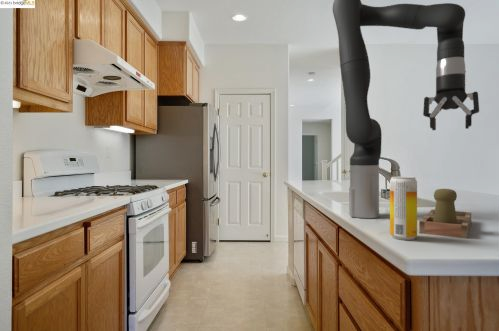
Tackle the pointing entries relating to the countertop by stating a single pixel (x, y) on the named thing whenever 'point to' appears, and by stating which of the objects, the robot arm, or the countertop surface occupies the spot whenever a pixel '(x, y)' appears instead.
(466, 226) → the rail
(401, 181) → the beer can
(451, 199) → the cork
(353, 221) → the countertop surface
